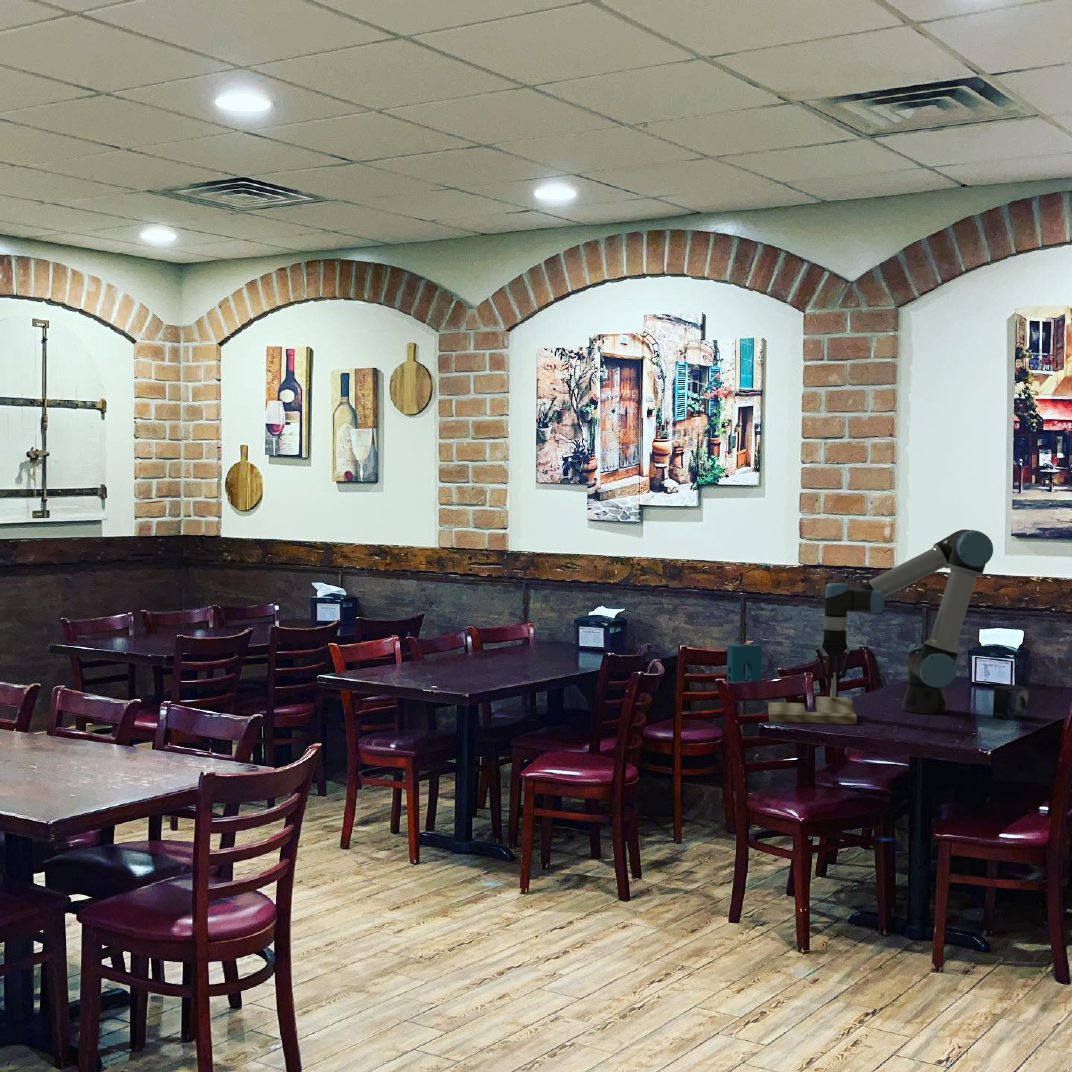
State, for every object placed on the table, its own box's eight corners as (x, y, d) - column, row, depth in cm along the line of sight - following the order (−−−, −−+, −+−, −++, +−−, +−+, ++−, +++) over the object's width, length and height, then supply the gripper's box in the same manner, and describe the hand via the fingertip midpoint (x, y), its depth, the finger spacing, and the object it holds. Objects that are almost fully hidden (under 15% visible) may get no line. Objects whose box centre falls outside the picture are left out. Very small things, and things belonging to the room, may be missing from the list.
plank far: (803, 710, 465) (803, 703, 465) (805, 719, 452) (805, 711, 452) (768, 709, 467) (768, 702, 467) (769, 718, 454) (769, 710, 454)
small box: (1006, 720, 454) (1007, 689, 454) (991, 717, 460) (992, 686, 459) (1029, 717, 459) (1030, 687, 458) (1014, 714, 465) (1015, 684, 464)
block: (755, 698, 495) (755, 643, 494) (762, 700, 490) (762, 645, 490) (725, 700, 491) (726, 645, 490) (732, 702, 486) (733, 646, 486)
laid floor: (854, 721, 450) (855, 713, 450) (856, 724, 444) (856, 716, 444) (769, 718, 454) (769, 710, 454) (769, 721, 448) (769, 713, 448)
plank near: (851, 704, 463) (851, 697, 462) (854, 720, 451) (854, 713, 450) (815, 703, 465) (815, 696, 464) (817, 719, 452) (818, 712, 452)
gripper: (854, 628, 462) (851, 697, 464) (814, 626, 464) (812, 695, 465) (856, 630, 455) (853, 700, 456) (816, 629, 457) (813, 699, 458)
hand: (832, 698), depth 461 cm, fingers closed
